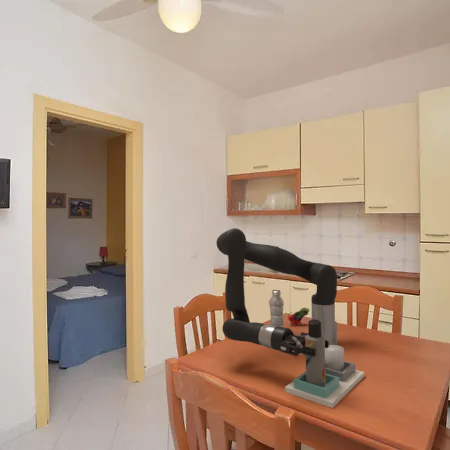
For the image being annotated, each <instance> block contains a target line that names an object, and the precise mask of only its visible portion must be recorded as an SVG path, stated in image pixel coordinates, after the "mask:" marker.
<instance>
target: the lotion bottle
mask: <svg viewBox="0 0 450 450" xmlns="http://www.w3.org/2000/svg"><path fill="white" fill-rule="evenodd" d="M307 330H308V335H306V338H305V341H306V347H310V348H314V349H316V356H315V357H313V356H309V355H305V372H306V382H307V383H311V384H314V385H317V386H320V387H325V385H326V379H325V337H324V336H322V327H321V322H320V321H319V320H316V319H313V320H312V319H310V320H308V327H307Z"/></svg>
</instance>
